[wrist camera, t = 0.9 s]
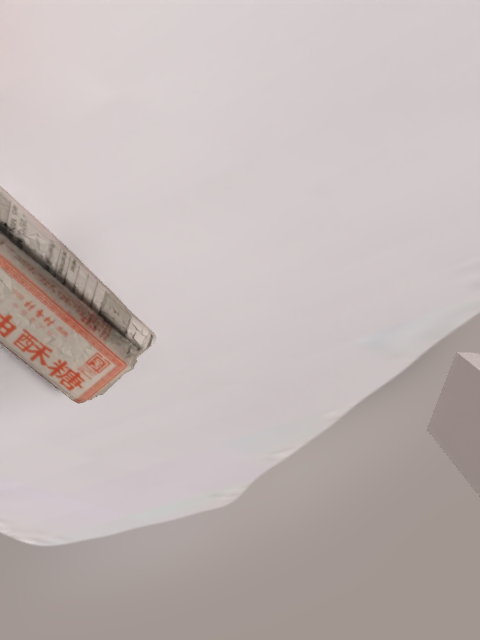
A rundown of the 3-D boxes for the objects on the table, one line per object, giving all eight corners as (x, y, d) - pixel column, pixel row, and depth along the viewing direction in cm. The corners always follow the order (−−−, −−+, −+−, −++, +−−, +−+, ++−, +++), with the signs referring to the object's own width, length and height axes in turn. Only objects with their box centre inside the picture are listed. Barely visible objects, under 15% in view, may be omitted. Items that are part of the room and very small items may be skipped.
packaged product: (154, 358, 31) (71, 427, 33) (161, 333, 36) (86, 395, 38) (-43, 178, 25) (-132, 275, 27) (-6, 174, 30) (-84, 258, 32)
